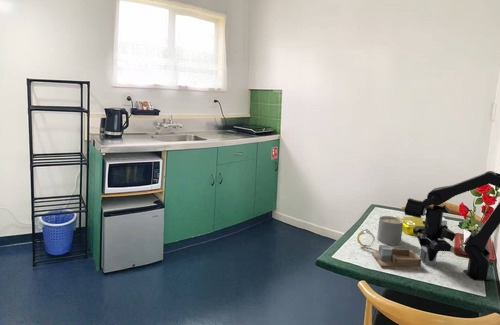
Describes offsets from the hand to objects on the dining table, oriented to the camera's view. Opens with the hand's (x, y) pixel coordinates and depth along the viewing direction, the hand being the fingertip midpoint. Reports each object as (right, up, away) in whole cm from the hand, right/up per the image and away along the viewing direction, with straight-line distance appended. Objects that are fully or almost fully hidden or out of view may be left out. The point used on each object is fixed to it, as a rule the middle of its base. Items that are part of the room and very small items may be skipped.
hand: (428, 258), depth 138 cm
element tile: (+11, +4, +36) cm, 38 cm away
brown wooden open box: (-13, -1, -1) cm, 13 cm away
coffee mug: (-7, +3, +22) cm, 23 cm away
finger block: (0, -2, 0) cm, 2 cm away
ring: (-21, +1, +12) cm, 24 cm away
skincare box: (+13, +1, +19) cm, 23 cm away
